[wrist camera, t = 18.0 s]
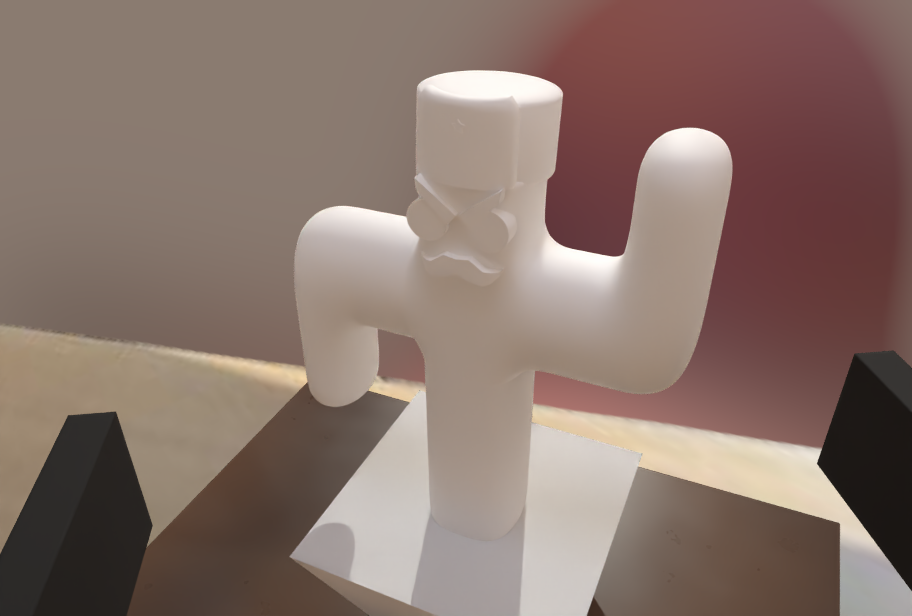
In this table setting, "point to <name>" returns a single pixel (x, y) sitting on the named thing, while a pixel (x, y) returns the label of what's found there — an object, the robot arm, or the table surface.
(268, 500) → the shelf stand
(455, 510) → the figurine
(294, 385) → the table surface
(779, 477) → the table surface
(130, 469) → the robot arm
